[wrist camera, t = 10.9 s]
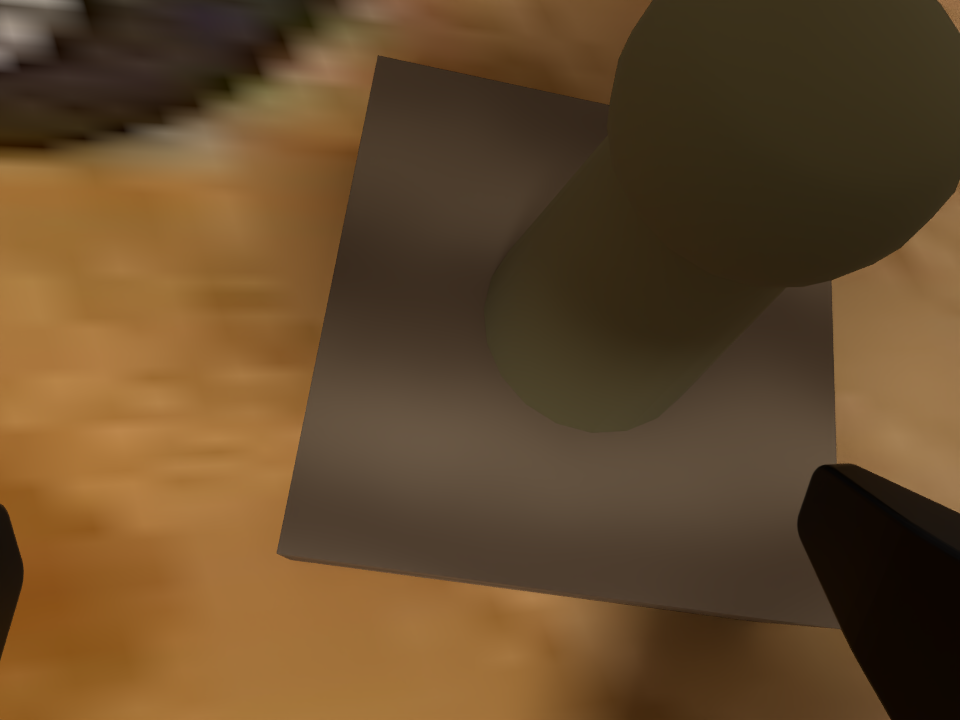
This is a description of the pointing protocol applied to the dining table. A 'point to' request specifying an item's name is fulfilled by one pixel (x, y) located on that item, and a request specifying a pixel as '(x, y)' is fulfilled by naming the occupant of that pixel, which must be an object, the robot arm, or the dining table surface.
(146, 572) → the dining table surface
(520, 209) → the walnut plinth
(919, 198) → the cork
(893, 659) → the robot arm
